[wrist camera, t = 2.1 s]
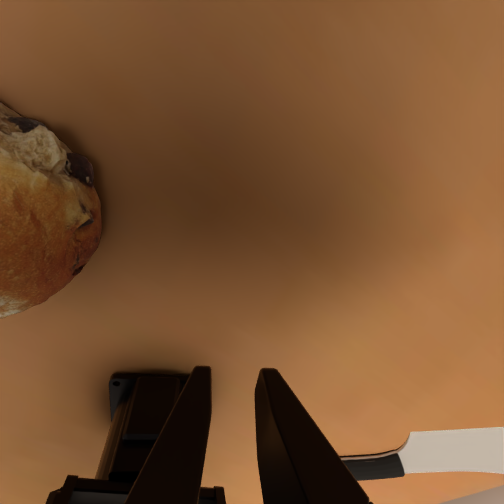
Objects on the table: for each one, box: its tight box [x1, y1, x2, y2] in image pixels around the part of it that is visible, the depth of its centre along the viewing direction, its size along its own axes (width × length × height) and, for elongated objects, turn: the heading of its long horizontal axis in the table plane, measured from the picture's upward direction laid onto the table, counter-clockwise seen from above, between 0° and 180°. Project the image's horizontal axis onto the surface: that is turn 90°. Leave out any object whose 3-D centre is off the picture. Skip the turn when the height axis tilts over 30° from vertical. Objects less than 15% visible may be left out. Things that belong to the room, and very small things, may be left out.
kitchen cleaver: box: [339, 427, 504, 481], centre depth 30 cm, size 31×2×10 cm
